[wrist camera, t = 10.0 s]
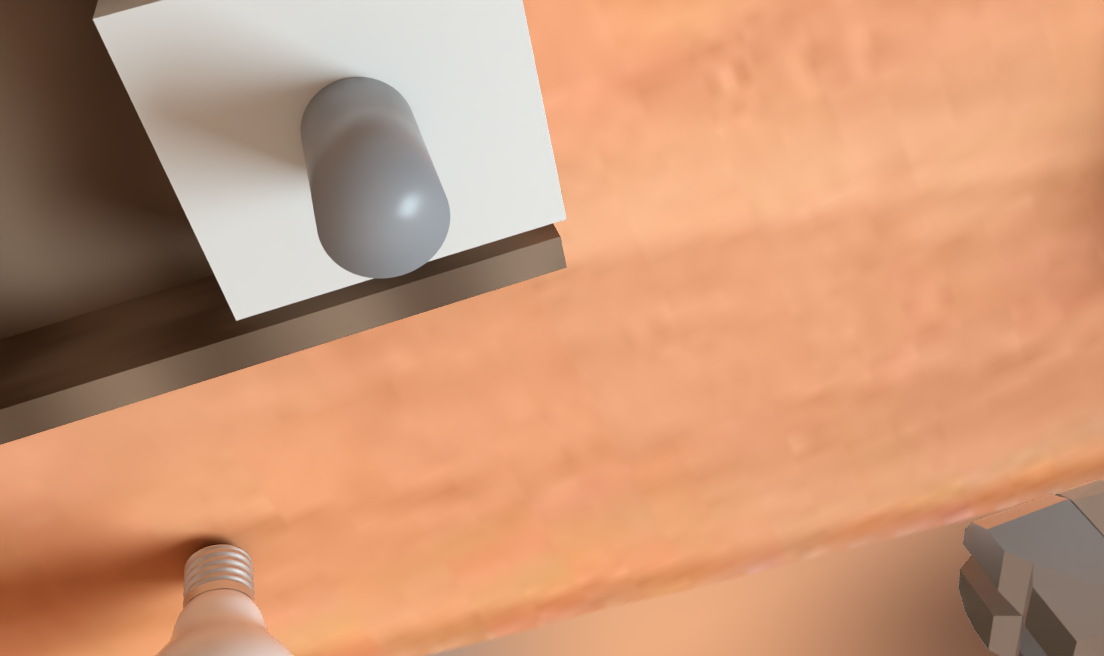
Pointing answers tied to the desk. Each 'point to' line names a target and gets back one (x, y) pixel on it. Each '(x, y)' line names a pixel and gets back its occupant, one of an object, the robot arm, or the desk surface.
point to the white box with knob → (338, 133)
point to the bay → (145, 247)
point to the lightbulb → (221, 609)
